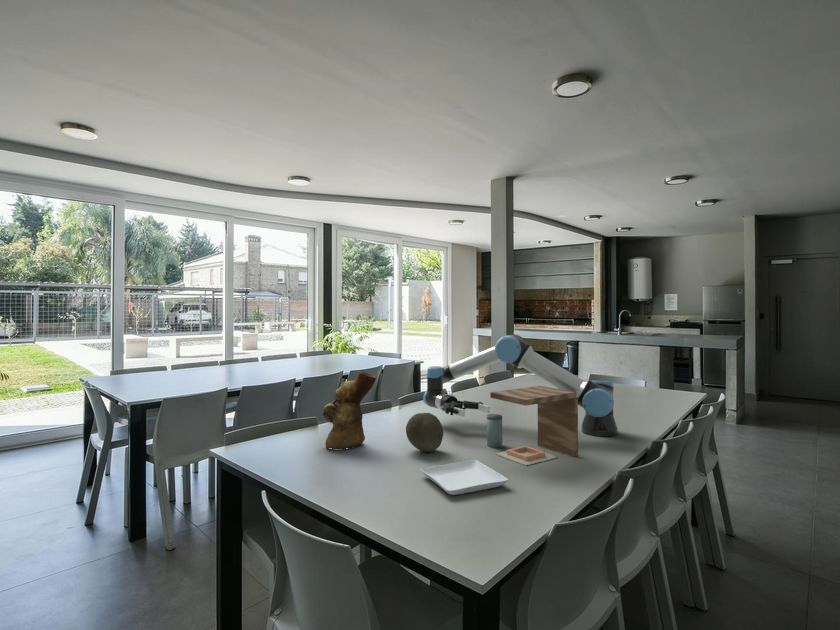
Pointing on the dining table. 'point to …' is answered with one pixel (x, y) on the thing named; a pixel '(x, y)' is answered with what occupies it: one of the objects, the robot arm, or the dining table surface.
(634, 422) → the dining table surface
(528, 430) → the dining table surface
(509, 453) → the seat collar
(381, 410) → the dining table surface
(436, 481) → the salad plate
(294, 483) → the dining table surface
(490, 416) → the canister
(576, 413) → the shelf
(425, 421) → the cantaloupe
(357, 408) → the ceramic vessel
